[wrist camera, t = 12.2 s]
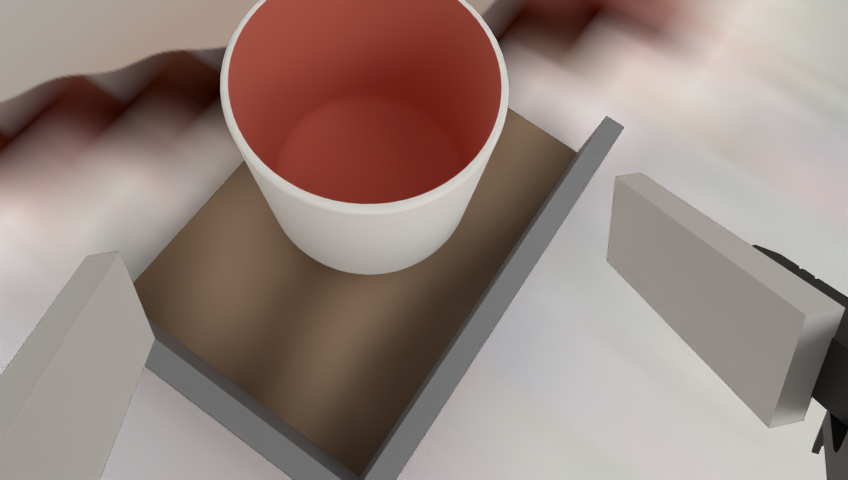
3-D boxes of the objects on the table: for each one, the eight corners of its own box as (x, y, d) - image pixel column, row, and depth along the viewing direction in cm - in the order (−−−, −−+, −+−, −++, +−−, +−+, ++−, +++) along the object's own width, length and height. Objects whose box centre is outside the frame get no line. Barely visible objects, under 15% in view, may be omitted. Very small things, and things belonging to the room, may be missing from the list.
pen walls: (592, 162, 30) (624, 127, 26) (364, 511, 24) (361, 532, 20) (372, 19, 31) (371, -34, 27) (105, 314, 25) (56, 298, 21)
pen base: (584, 171, 31) (592, 162, 30) (364, 506, 25) (364, 511, 24) (372, 33, 32) (372, 19, 31) (116, 318, 26) (105, 314, 25)
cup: (435, 305, 27) (468, 251, 17) (242, 246, 27) (168, 159, 17) (485, 133, 30) (537, 6, 20) (312, 80, 30) (282, -72, 20)
